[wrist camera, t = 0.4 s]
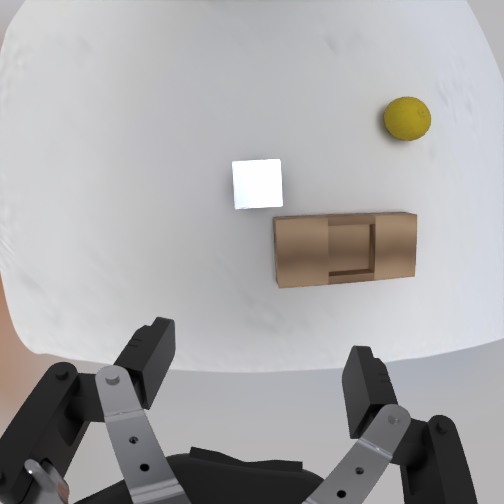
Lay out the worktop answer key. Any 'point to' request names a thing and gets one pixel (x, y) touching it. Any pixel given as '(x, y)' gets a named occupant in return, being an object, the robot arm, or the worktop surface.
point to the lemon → (407, 118)
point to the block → (257, 183)
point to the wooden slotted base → (344, 248)
